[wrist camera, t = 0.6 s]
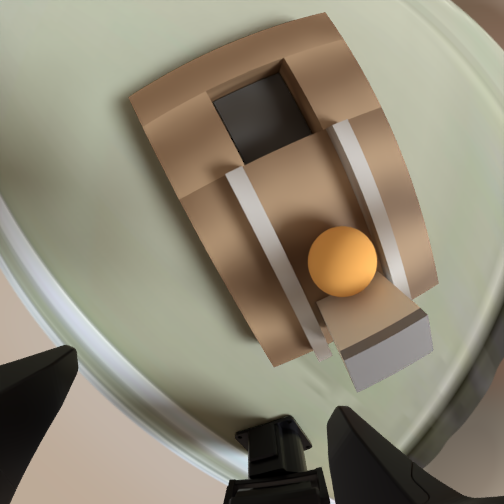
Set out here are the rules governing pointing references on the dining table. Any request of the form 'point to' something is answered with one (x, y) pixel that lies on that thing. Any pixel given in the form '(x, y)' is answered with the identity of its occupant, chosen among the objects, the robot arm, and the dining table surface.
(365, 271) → the ball
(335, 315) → the plunger
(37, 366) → the robot arm
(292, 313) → the board
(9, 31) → the dining table surface
